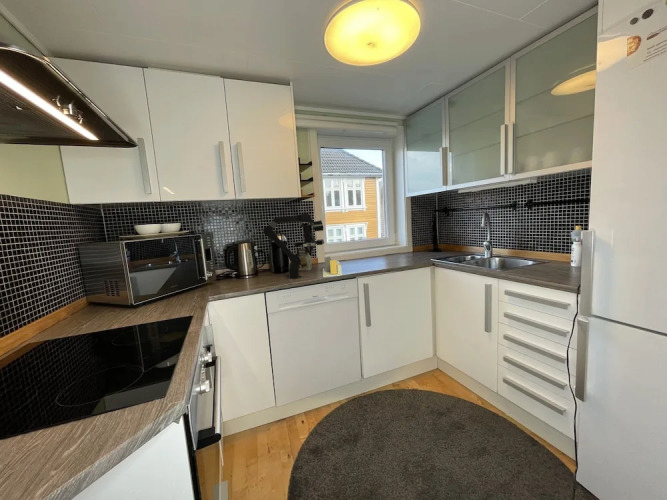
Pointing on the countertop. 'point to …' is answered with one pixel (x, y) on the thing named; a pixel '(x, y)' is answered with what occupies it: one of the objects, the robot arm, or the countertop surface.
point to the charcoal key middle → (327, 264)
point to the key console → (339, 273)
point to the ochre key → (333, 267)
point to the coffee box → (304, 259)
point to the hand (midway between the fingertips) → (310, 255)
